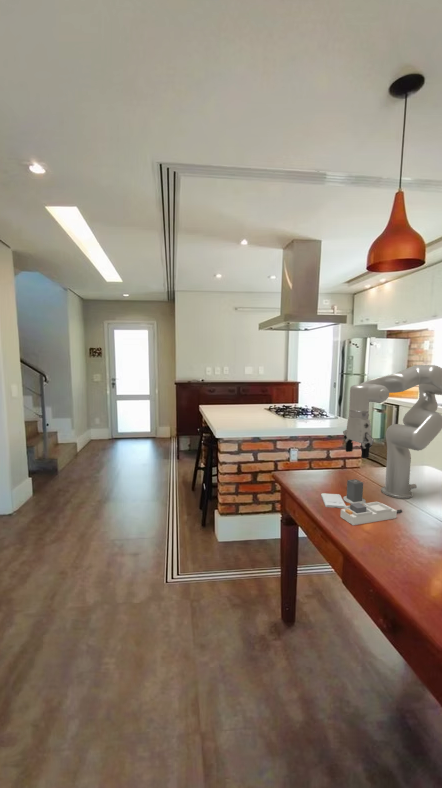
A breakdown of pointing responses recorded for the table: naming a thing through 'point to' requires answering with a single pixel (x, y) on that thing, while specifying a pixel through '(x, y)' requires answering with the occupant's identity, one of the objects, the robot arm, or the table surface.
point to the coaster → (353, 502)
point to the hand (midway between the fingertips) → (356, 454)
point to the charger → (354, 490)
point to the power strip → (367, 513)
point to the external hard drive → (333, 500)
